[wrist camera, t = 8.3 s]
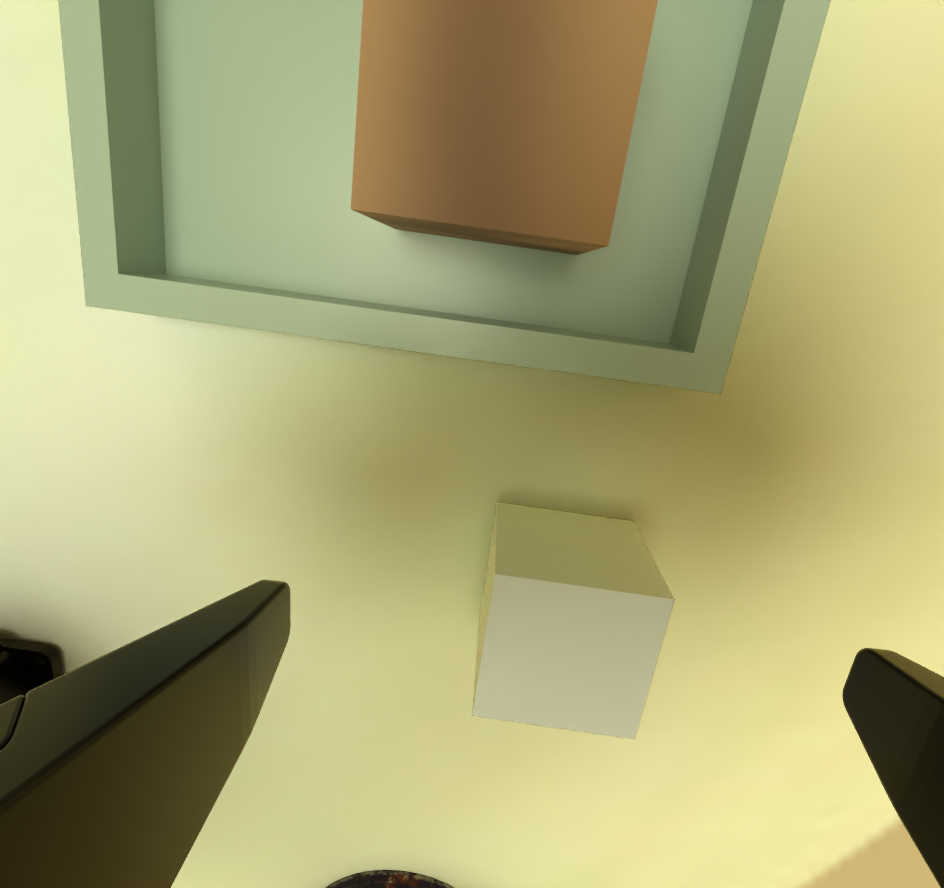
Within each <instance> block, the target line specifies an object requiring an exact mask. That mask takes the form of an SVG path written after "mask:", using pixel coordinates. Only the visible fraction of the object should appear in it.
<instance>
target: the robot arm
mask: <svg viewBox="0 0 944 888" xmlns="http://www.w3.org/2000/svg"><path fill="white" fill-rule="evenodd" d="M289 634H290V588H289V585H288V584H287V583H286V582H280V581H272V580H261V581H258V582H256V583H254V584H252V585H250V586H248V587H246V588H244V589H242V590H240V591H238V592H235V593H233V594H231V595H229V596H227V597H225V598H223V599H221V600H219V601H217V602H215V603H212V604H210V605H208V606H206V607H204V608H202V609H200V610H198V611H196V612H194V613H192V614H190V615H187V616H185V617H183V618H181V619H179V620H177V621H175V622H173V623H171V624H169V625H166V626H164V627H162V628H160V629H158V630H156V631H154V632H152V633H150V634H148V635H146V636H143V637H141V638H139V639H137V640H135V641H133V642H131V643H129V644H127V645H125V646H123V647H120V648H118V649H116V650H114V651H112V652H110V653H108V654H106V655H104V656H102V657H100V658H97V659H95V660H93V661H91V662H89V663H87V664H85V665H83V666H81V667H79V668H76V669H74V670H72V671H70V672H68V673H66V674H64V675H62V674H61V667H60V659H59V655H58V653H57V651H56V650H55V649H53V648H52V647H50V646H47V645H41V644H34V643H27V642H20V641H14V640H7V639H0V888H171V886H172V884H173V882H174V880H175V878H176V876H177V874H178V872H179V871H180V869H181V867H182V865H183V863H184V861H185V859H186V857H187V855H188V853H189V851H190V850H191V848H192V846H193V844H194V842H195V840H196V838H197V836H198V834H199V832H200V831H201V829H202V827H203V825H204V823H205V821H206V819H207V817H208V815H209V813H210V811H211V810H212V808H213V806H214V804H215V802H216V800H217V798H218V796H219V794H220V792H221V790H222V789H223V787H224V785H225V783H226V781H227V779H228V777H229V775H230V773H231V771H232V769H233V768H234V766H235V764H236V762H237V760H238V758H239V756H240V754H241V752H242V750H243V748H244V746H245V744H246V742H247V740H248V738H249V736H250V734H251V732H252V730H253V727H254V725H255V723H256V720H257V718H258V715H259V713H260V710H261V708H262V705H263V703H264V700H265V698H266V695H267V692H268V690H269V687H270V685H271V682H272V680H273V677H274V675H275V672H276V670H277V667H278V665H279V662H280V660H281V657H282V654H283V652H284V649H285V647H286V644H287V642H288V638H289ZM843 702H844V706H845V708H846V711H847V713H848V715H849V717H850V719H851V721H852V723H853V725H854V727H855V729H856V731H857V733H858V735H859V737H860V739H861V741H862V744H863V746H864V748H865V750H866V752H867V754H868V756H869V758H870V760H871V762H872V764H873V766H874V768H875V770H876V772H877V774H878V776H879V779H880V781H881V783H882V785H883V787H884V789H885V791H886V793H887V795H888V797H889V799H890V801H891V803H892V805H893V807H894V808H895V810H896V812H897V814H898V816H899V817H900V819H901V821H902V823H903V825H904V826H905V828H906V830H907V831H908V833H909V835H910V837H911V838H912V840H913V842H914V843H915V845H916V847H917V848H918V850H919V852H920V853H921V855H922V857H923V859H924V860H925V862H926V864H927V865H928V867H929V869H930V870H931V872H932V874H933V875H934V877H935V879H936V881H937V882H938V884H939V886H940V887H941V888H944V677H943V676H941V675H939V674H937V673H935V672H933V671H931V670H929V669H927V668H925V667H923V666H921V665H919V664H917V663H915V662H913V661H911V660H909V659H907V658H905V657H903V656H901V655H899V654H897V653H895V652H893V651H889V650H882V649H872V648H864V649H861V650H860V651H859V652H858V653H857V655H856V657H855V659H854V662H853V664H852V667H851V670H850V672H849V675H848V678H847V680H846V683H845V686H844V689H843Z"/></svg>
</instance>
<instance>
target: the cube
mask: <svg viewBox="0 0 944 888" xmlns="http://www.w3.org/2000/svg"><path fill="white" fill-rule="evenodd" d="M674 600H675V599H674V598H673V596H672V594H671V592H670V590H669V588H668V586H667V584H666V582H665V581H664V579H663V577H662V575H661V573H660V571H659V569H658V567H657V565H656V564H655V562H654V560H653V558H652V556H651V554H650V552H649V550H648V548H647V547H646V545H645V543H644V541H643V539H642V537H641V535H640V533H639V531H638V530H637V528H636V526H635V524H634V522H633V521H629V520H621V519H614V518H607V517H600V516H593V515H586V514H579V513H571V512H564V511H557V510H550V509H543V508H536V507H529V506H522V505H514V504H507V503H500V502H497V506H496V512H495V519H494V525H493V532H492V538H491V545H490V551H489V558H488V564H487V571H486V577H485V584H484V590H483V597H482V603H481V610H480V616H479V628H478V642H477V656H476V670H475V684H474V698H473V712H472V716H478V717H484V718H491V719H498V720H505V721H512V722H518V723H525V724H532V725H539V726H546V727H552V728H559V729H566V730H573V731H580V732H586V733H593V734H600V735H607V736H614V737H620V738H627V739H634V740H635V737H636V733H637V730H638V726H639V723H640V719H641V716H642V712H643V709H644V705H645V702H646V698H647V695H648V691H649V687H650V684H651V680H652V677H653V673H654V670H655V666H656V663H657V659H658V656H659V652H660V649H661V645H662V642H663V638H664V635H665V631H666V628H667V624H668V621H669V617H670V614H671V610H672V607H673V603H674Z"/></svg>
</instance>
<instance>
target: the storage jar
mask: <svg viewBox="0 0 944 888" xmlns="http://www.w3.org/2000/svg"><path fill="white" fill-rule="evenodd" d="M327 888H452V887H451V886H449V885H447V884H445V883H443V882H440V881H438V880H435V879H433V878H430V877H426V876H423V875H419V874H415V873H409V872H403V871H388V870H383V871H369V872H364V873H358V874H354V875H351V876H348V877H345V878H342V879H340V880H338V881H336V882H334V883H332V884H331V885H329V886H328V887H327Z"/></svg>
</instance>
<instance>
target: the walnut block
mask: <svg viewBox="0 0 944 888" xmlns="http://www.w3.org/2000/svg"><path fill="white" fill-rule="evenodd" d="M657 3H658V0H363V12H362V29H361V45H360V62H359V78H358V95H357V112H356V128H355V145H354V161H353V178H352V195H351V210H353V211H356V212H358V213H360V214H362V215H365V216H367V217H369V218H371V219H374V220H376V221H378V222H380V223H383V224H385V225H387V226H389V227H392V228H394V229H396V230H403V231H410V232H417V233H424V234H431V235H438V236H445V237H452V238H459V239H466V240H473V241H480V242H487V243H494V244H501V245H508V246H515V247H522V248H529V249H536V250H544V251H551V252H558V253H565V254H572V255H579V254H583V253H586V252H590V251H593V250H596V249H600V248H603V247H606V246H609V241H610V236H611V231H612V226H613V221H614V216H615V211H616V206H617V201H618V196H619V191H620V186H621V181H622V176H623V171H624V166H625V161H626V156H627V152H628V147H629V142H630V137H631V132H632V127H633V122H634V117H635V112H636V107H637V102H638V97H639V92H640V87H641V82H642V77H643V72H644V67H645V62H646V57H647V52H648V47H649V43H650V38H651V33H652V28H653V23H654V18H655V13H656V8H657Z"/></svg>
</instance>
